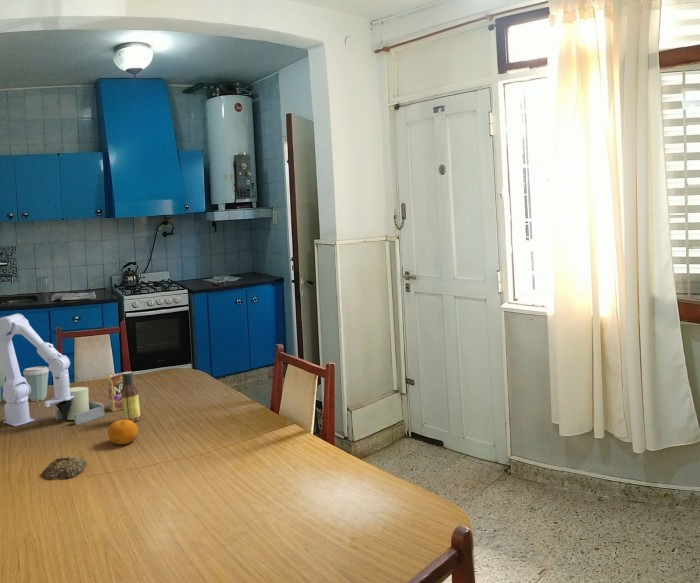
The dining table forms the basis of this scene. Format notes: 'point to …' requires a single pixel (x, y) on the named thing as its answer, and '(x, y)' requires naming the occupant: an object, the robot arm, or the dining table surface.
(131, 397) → the sauce bottle
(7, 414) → the robot arm
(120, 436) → the fruit
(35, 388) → the disposable coffee cup
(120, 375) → the candy box
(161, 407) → the dining table surface
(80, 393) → the can
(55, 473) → the rough brown rock
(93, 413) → the box
